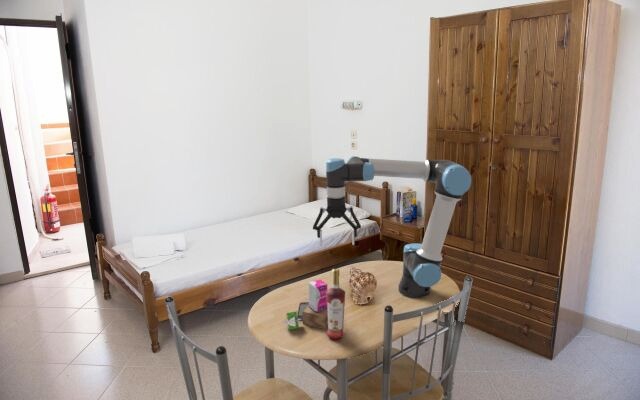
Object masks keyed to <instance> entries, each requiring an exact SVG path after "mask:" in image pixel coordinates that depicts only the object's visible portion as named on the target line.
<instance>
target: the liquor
mask: <svg viewBox="0 0 640 400" xmlns="http://www.w3.org/2000/svg"><path fill="white" fill-rule="evenodd" d="M331 271H332V272H331V274H332V282H331V283H332V285H331V287H330V288H329V289H327V291H326V301H327V318H328V326H327V331H326V335H327V337H329V338H330V339H332V340H340V339H341V338H342V337H344V335H345V331H344V322H345V321H344V320H345V319H344V317H345V304H346V302H345V301H346V291H345V290H344V289H343V288H341V287H340V278H339V277H340V269H339V268H332V269H331Z"/></svg>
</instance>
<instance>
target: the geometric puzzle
mask: <svg viewBox="0 0 640 400" xmlns="http://www.w3.org/2000/svg"><path fill="white" fill-rule="evenodd" d="M302 321H303V318H301V317H300V318H299V317H298V312H297V311H292V312H291V311H290V312H287V313H286V315H285V318H284V319H283V323H284V324H285V325H287V328H288V331H290V330H294V329H295V330H296V329H300V325H301V323H302Z"/></svg>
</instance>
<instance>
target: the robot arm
mask: <svg viewBox="0 0 640 400" xmlns="http://www.w3.org/2000/svg"><path fill="white" fill-rule="evenodd" d="M325 165H326V166H325V174H326V176H325V177H326V196H327V198H326V201H327V202H326V203H327V204H326V207H323V206H320V208H319V212H318V215H317V217H316V219H315V221H314V223H313V226H312V230H313V231H314V230H315V231H316V232H317V233H316V235H317V236H316V237H317V238H318V239H319V240H320V241H319V244H320V245H319V246H320V247H322V246H323V229H322V228H323V227H324V226H325V225H326V223H327V222H328V221H329V220H331V218H332V219H341V218H342V219H343V220H344V221H345V222H347V224H348V225H349V226H350V227H351V238H352V239H351V243H352V246H355V238H357V237H358V232H357V231H358V230H359V229H362V226H361V223H360V221H359V219H358V218H357V217H358V216H356V214H355V212H354V208H353V206H347V207H346V196H345V195H346V182H347V183H348V182H370V181H371V182H372V181H373V180H374V179H375V177H386V178H387V177H388V178H404V179H405V178H406V179H419V180H421V179H422V180H423V182H429V183H434V184H435V186H434V194H435V195H436V196H435V200H434V203H433V207H432V209H431V213H430V217H429V220H428V224H427V226H426V229H425V233H424V237H423V239H422V243H407V244H406V245H404V247H403V252H402V253H403V259H402V260H403V262H402V264H403V266H402V275H401V278H400V279H399V283H398V288H397V289H398V292H399V293H400V294H401V295H402V296H405V297H409V298H413V299H414V298H415V299H421V298H427V297H428V296H430V294H431V293H432V287H434V286H435V285H437V284H438V283H439V282H440V280H441V278H442V275H443V274H442V270H441V265H442V262H443V256H442V255H441V253H442V250H443V246H444V243H445V240H446V237H447V233H448V231H449V228H450V224H451V222H452V218H453V216H454V212H455V208H456V205H457V203H458V202H459V201H461V200H462V199H463V196H464V194H465V193H466V192H468V191H469V189H470V187H471V185H472V175H471V174H470V171H469V170H468V169H467V168H465V166H463V165H461V164H459V163H456V162H455V161H452V160H449V159H425V160H423V161H419V160H418V161H416V160H401V159H399V160H398V159H387V158H386V159H384V158H381V159H380V158H363V157H359V156H355V155H353V156H351V157H349V158H348V159H347V160H346V161H345V159H343V158H341V157H340V158H338V157H337V158H336V157H335V158H328V159H327V160H326V164H325ZM347 211H348V213H350V216H351V217H352V219H353V221H354V222H353V221H352V220H351V219H350V218H349V217H348V215H347V214H346V212H347ZM325 212H326V213H327V215H326V216H325V217H324V219H323V220H322V221H321V218H322V216H323V214H325ZM320 221H321V222H320Z"/></svg>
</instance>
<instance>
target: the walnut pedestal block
mask: <svg viewBox="0 0 640 400" xmlns="http://www.w3.org/2000/svg"><path fill="white" fill-rule="evenodd" d="M302 324H303V325H305V326H310V327H315V328H319V329H324V330H325V329H326V328H328V318H327V309H325V310H322V311H319V312H314V311H313V310H312V309H310V308H309V304H308V305H307V306H306V307H305V308H304V310H302Z"/></svg>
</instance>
